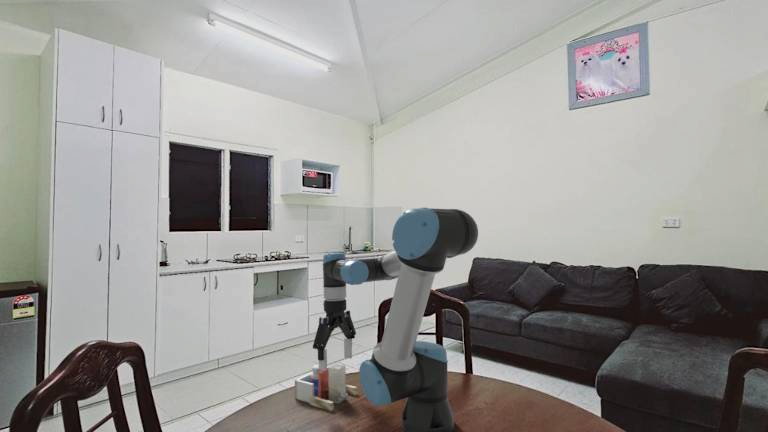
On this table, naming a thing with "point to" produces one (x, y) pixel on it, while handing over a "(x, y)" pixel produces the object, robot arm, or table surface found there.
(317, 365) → the pill bottle
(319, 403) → the lane rails
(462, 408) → the table surface
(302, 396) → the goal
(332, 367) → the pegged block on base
